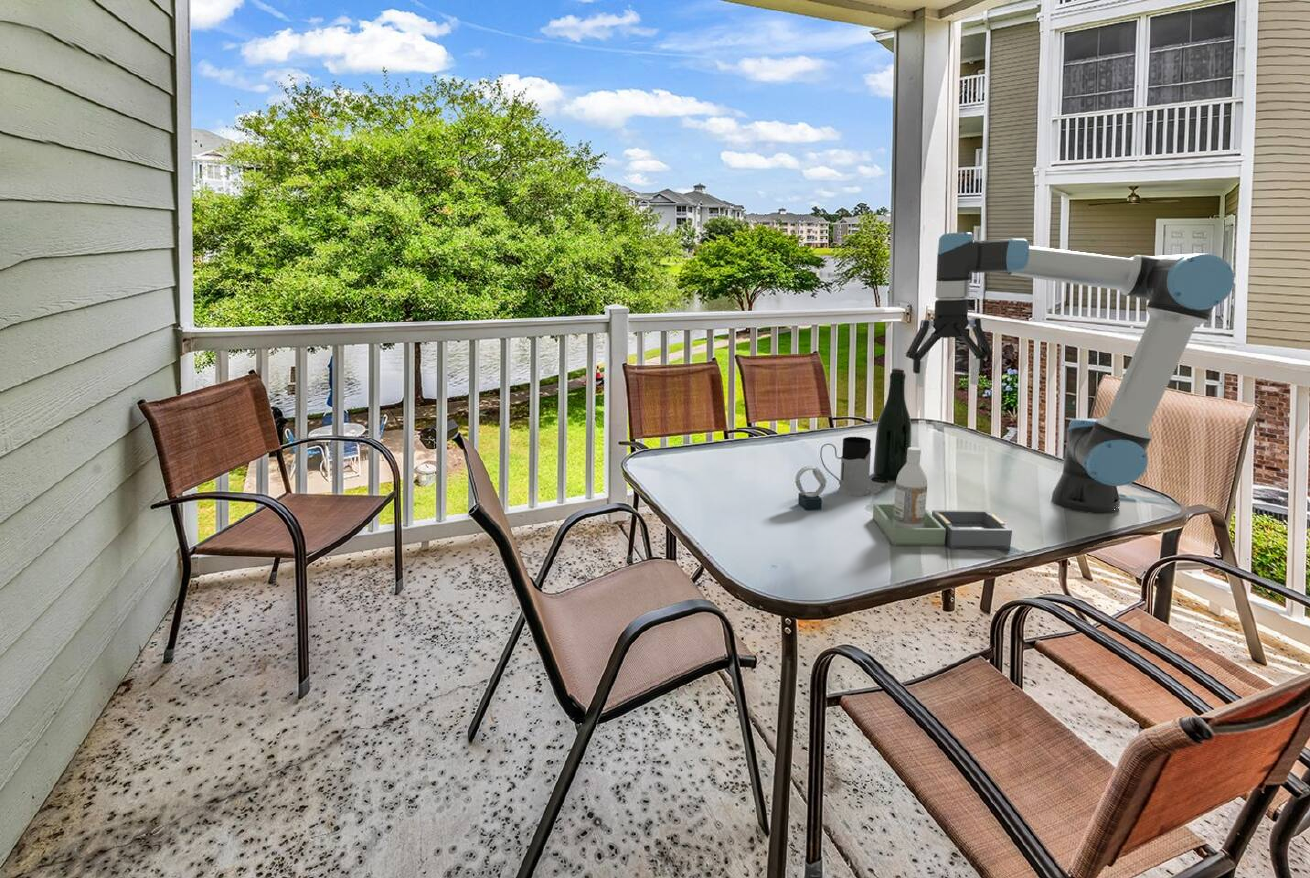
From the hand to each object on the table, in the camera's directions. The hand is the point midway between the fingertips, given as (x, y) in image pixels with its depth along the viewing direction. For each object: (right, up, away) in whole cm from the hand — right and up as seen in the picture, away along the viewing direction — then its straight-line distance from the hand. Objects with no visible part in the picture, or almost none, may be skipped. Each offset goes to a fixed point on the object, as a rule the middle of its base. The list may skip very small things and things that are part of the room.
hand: (946, 385), depth 170 cm
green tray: (-13, -36, -7) cm, 39 cm away
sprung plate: (0, -36, -12) cm, 38 cm away
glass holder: (-19, -28, +24) cm, 42 cm away
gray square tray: (0, -36, -12) cm, 38 cm away
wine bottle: (-1, -25, +37) cm, 45 cm away
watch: (-32, -32, +11) cm, 46 cm away
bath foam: (-12, -35, -7) cm, 38 cm away
